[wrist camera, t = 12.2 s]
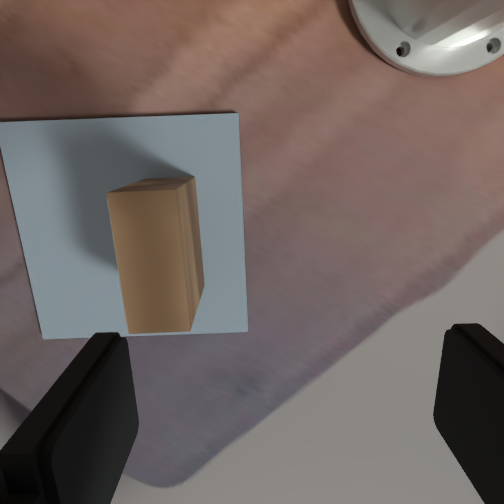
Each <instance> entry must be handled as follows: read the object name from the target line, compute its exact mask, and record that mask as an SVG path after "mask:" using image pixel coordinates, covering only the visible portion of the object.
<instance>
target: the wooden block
mask: <svg viewBox="0 0 504 504" xmlns="http://www.w3.org/2000/svg"><path fill="white" fill-rule="evenodd" d="M107 198H108V199H107V203H108V209H109V216H110V222H111V229H112V235H113V241H114V248H115V254H116V261H117V267H118V273H119V280H120V286H121V292H122V299H123V305H124V312H125V318H126V324H127V326H128V332H129V334H142V333H166V332H189V331H191V328H192V325H193V321H194V318H195V315H196V312H197V308H198V305H199V302H200V299H201V296H202V292H203V289H204V286H205V283H204V271H203V260H202V248H201V237H200V225H199V214H198V202H197V190H196V179H195V177H178V178H156V179H143V180H140V181H138V182H135V183H132V184H129V185H126V186H124V187H121V188H118V189H115V190H113V191H110V192H107Z"/></svg>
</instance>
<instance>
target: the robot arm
mask: <svg viewBox="0 0 504 504" xmlns="http://www.w3.org/2000/svg"><path fill="white" fill-rule="evenodd" d="M348 3H349V6H350V10H351V14H352V17H353V19H354V21H355V23H356V25H357V27H358V29H359V31H360V33H361V35H362V36H363V38H364V39H365V40H366V42H367V43H368V44H369V46H370V47H371V48H372V50H373V51H374V52H375V53H377V54H378V55H379V56H380V57H381V58H382V59H383V60H385V61H386V62H387V63H389V64H391V65H392V66H394V67H396V68H398V69H400V70H401V71H404V72H407V73H411V74H414V75H417V76H423V77H438V78H439V77H446V76H453V75H458V74H462V73H465V72H468V71H472V70H475V69H477V68H479V67H481V66H483V65H486V64H488V63H490V62H492V61H494V60H495V59H497V58H498V57H500V56H501V55H503V54H504V0H348ZM486 46H487V47H488V51H487V47H486ZM397 48H399V49H400V50H401V56H398V55H397V52H396V49H397ZM433 416H434V422H435V425H436V427H437V429H438V431H439V432H440V434H441V436H442V437H443V439H444V440H445V442H446V443H447V445H448V447H449V448H450V450H451V451H452V453H453V454H454V456H455V458H456V459H457V461H458V462H459V464H460V465H461V467H462V469H463V470H464V472H465V473H466V475H467V476H468V478H469V479H470V481H471V483H472V484H473V486H474V488H475V489H476V491H477V492H478V494H479V495H480V497H481V499H482V500H483V502H484V503H485V504H504V344H503V343H502V342H501V341H499V340H498V339H497V338H496V337H495V336H494V335H492V334H491V333H490V332H489V331H488V330H486V329H485V328H484V327H482V326H481V325H480V324H477V323H473V324H454V325H453V326H452V328H451V329H450V330H447V331H446V332H445V335H444V342H443V350H442V357H441V363H440V371H439V377H438V384H437V391H436V398H435V406H434V413H433ZM138 426H139V419H138V412H137V405H136V398H135V391H134V384H133V377H132V370H131V363H130V356H129V349H128V342H127V339H126V338H125V337H121V336H120V334H119V333H118V332H98V333H95V334H94V335H93V336H92V337H91V338H90V340H89V341H88V342H87V343H86V344H85V346H84V347H83V348H82V349H81V351H80V352H79V353H78V354H77V356H76V357H75V358H74V359H73V361H72V362H71V363H70V364H69V366H68V367H67V368H66V369H65V371H64V372H63V373H62V374H61V376H60V377H59V378H58V379H57V381H56V382H55V383H54V384H53V386H52V387H51V388H50V389H49V391H48V392H47V393H46V394H45V396H44V397H43V398H42V399H41V400H40V402H39V403H38V404H37V405H36V407H35V408H34V409H33V410H32V412H31V413H30V414H29V416H28V417H27V418H26V419H25V421H24V422H23V423H22V424H21V425H20V427H19V428H18V429H17V430H16V432H15V433H14V434H13V435H12V437H11V438H10V439H9V440H8V442H7V443H6V444H5V445H4V447H3V448H2V449H1V450H0V504H110V503H111V500H112V498H113V495H114V492H115V490H116V487H117V485H118V482H119V480H120V477H121V474H122V472H123V469H124V467H125V464H126V462H127V459H128V456H129V454H130V451H131V449H132V446H133V443H134V441H135V438H136V436H137V432H138Z"/></svg>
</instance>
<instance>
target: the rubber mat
mask: <svg viewBox="0 0 504 504" xmlns="http://www.w3.org/2000/svg"><path fill="white" fill-rule="evenodd" d="M0 148H1V153H2V157H3V162H4V166H5V170H6V175H7V179H8V184H9V188H10V193H11V197H12V202H13V206H14V211H15V215H16V220H17V224H18V229H19V233H20V238H21V242H22V247H23V251H24V256H25V260H26V265H27V269H28V274H29V278H30V283H31V287H32V291H33V296H34V300H35V305H36V309H37V314H38V318H39V323H40V327H41V332H42V336H43V339H63V338H91V337H92V336H93V335H94V334H95V333H98V332H118V333H119V334H120V336H147V335H176V334H204V333H232V332H248V317H247V295H246V272H245V249H244V226H243V204H242V181H241V158H240V135H239V114H238V113H228V114H201V115H175V116H149V117H123V118H97V119H71V120H45V121H19V122H0ZM178 177H195V179H196V190H197V202H198V214H199V225H200V237H201V248H202V260H203V271H204V283H205V286H204V289H203V292H202V296H201V299H200V302H199V305H198V308H197V312H196V315H195V318H194V321H193V325H192V328H191V331H189V332H166V333H142V334H129V332H128V326H127V324H126V318H125V312H124V305H123V299H122V292H121V286H120V280H119V273H118V267H117V261H116V254H115V248H114V241H113V235H112V229H111V222H110V216H109V209H108V203H107V199H108V198H107V192H110V191H113V190H115V189H118V188H121V187H124V186H126V185H129V184H132V183H135V182H138V181H140V180H143V179H156V178H178Z"/></svg>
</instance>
